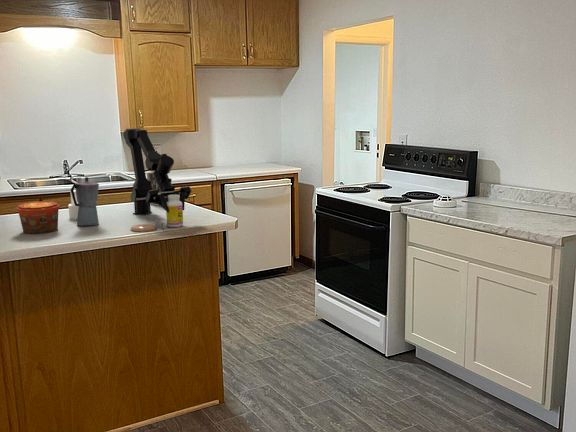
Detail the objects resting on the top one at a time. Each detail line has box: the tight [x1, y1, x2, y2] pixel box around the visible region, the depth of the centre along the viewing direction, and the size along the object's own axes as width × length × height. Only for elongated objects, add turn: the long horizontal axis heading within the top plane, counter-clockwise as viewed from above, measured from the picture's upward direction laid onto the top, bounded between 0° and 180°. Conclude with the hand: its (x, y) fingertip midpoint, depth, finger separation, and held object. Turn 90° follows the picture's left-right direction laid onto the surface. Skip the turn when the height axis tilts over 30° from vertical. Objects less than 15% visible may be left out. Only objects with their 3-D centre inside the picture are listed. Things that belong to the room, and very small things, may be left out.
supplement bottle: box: [165, 195, 184, 228], centre depth 233 cm, size 7×7×13 cm
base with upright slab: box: [68, 189, 79, 220], centre depth 252 cm, size 9×9×12 cm
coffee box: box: [146, 171, 161, 207], centre depth 283 cm, size 9×6×16 cm
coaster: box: [130, 223, 157, 233], centre depth 228 cm, size 10×10×1 cm
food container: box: [15, 201, 61, 235], centre depth 226 cm, size 16×16×11 cm
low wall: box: [155, 218, 164, 231], centre depth 231 cm, size 10×1×2 cm, turn 26°
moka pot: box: [70, 177, 100, 227], centre depth 236 cm, size 10×15×20 cm, turn 161°
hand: (176, 210), depth 232 cm, fingers closed on supplement bottle, 7 cm apart
